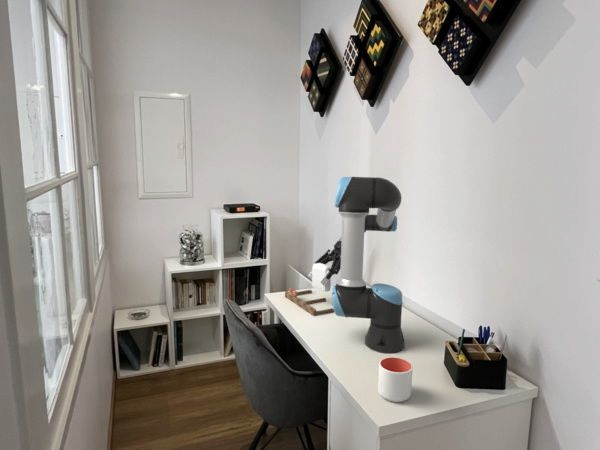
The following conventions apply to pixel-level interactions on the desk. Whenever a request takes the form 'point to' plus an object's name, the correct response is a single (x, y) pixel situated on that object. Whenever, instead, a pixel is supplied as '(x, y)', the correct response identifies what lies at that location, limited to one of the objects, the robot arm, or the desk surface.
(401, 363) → the cup
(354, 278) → the robot arm
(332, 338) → the desk surface
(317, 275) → the photo printer
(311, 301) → the wooden stand frame
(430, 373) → the desk surface
